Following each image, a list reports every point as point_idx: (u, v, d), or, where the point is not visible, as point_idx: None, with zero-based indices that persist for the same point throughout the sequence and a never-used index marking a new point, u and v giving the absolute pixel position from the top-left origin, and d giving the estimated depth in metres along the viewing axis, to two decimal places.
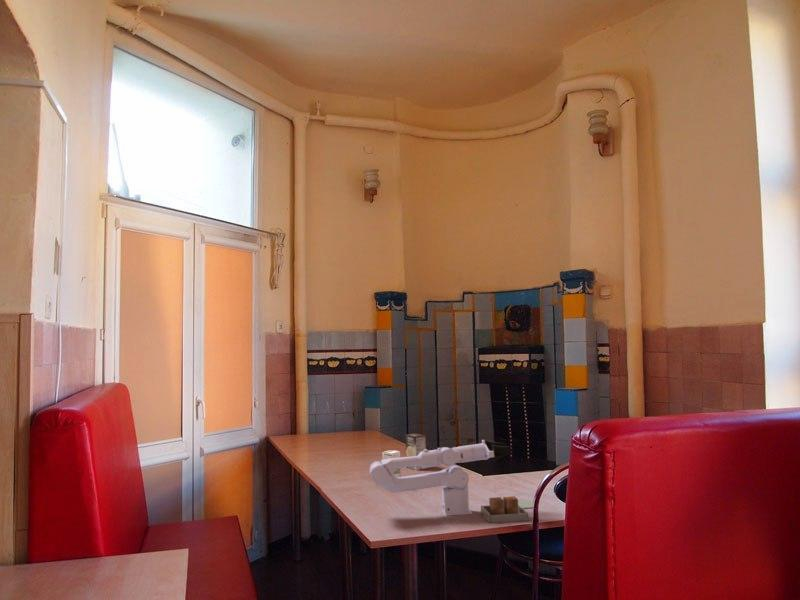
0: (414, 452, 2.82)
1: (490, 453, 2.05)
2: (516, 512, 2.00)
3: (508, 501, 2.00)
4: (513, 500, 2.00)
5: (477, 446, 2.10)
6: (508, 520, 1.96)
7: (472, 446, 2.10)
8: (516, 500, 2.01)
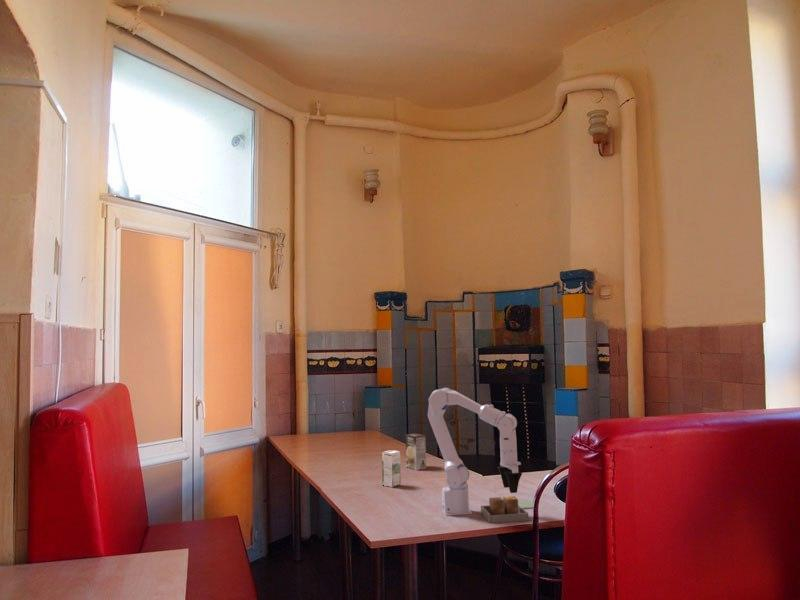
0: (414, 452, 2.82)
1: (516, 469, 1.96)
2: (516, 512, 2.00)
3: (508, 501, 2.00)
4: (513, 500, 2.00)
5: (516, 456, 2.02)
6: (508, 520, 1.96)
7: (516, 451, 2.03)
8: (516, 500, 2.01)
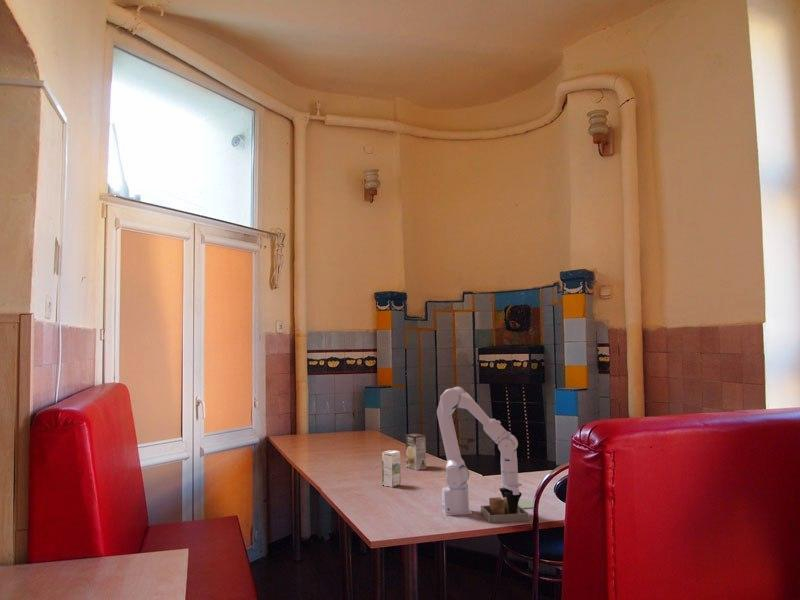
0: (414, 452, 2.82)
1: (517, 491, 1.96)
2: (516, 512, 2.00)
3: None
4: None
5: (517, 477, 2.01)
6: (508, 520, 1.96)
7: (517, 472, 2.02)
8: None
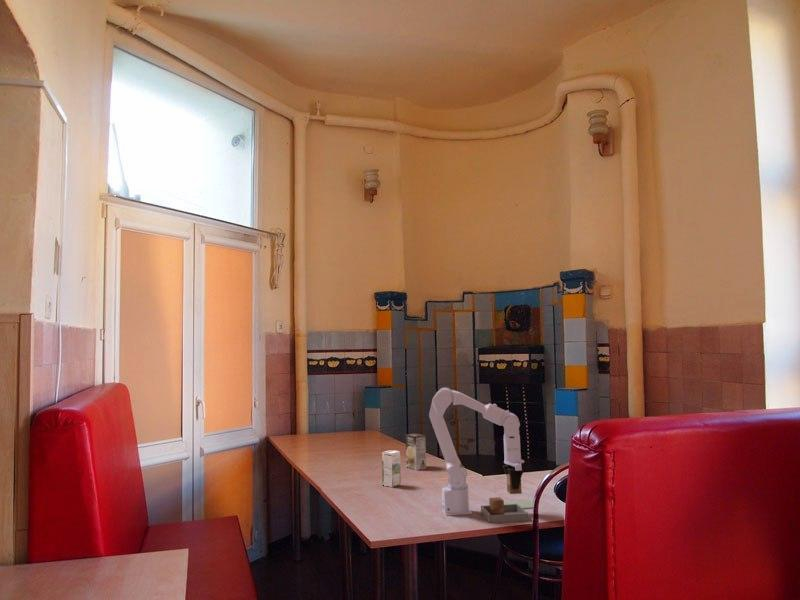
0: (414, 452, 2.82)
1: (519, 466, 2.00)
2: (519, 488, 2.05)
3: None
4: None
5: (520, 454, 2.06)
6: (508, 520, 1.96)
7: None
8: None
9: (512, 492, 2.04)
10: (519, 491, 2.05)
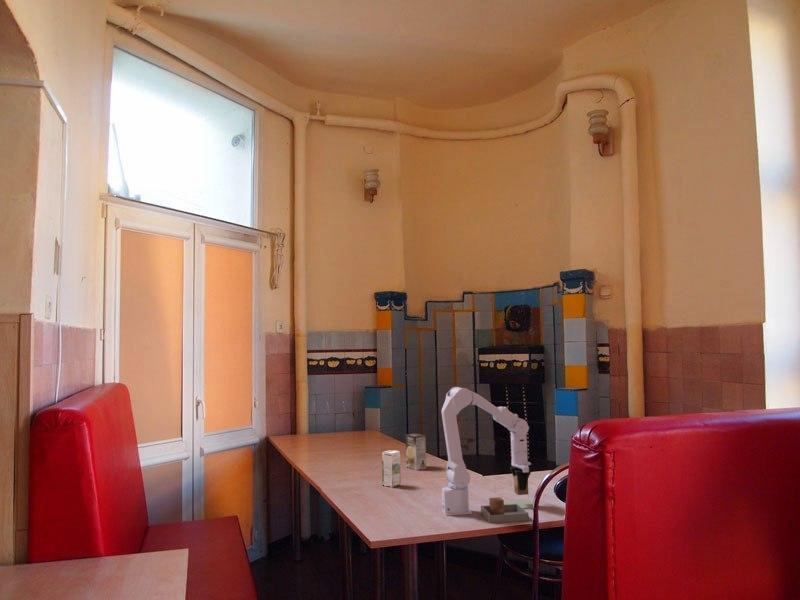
0: (414, 452, 2.82)
1: (527, 468, 2.09)
2: (526, 489, 2.13)
3: None
4: None
5: (526, 457, 2.15)
6: (508, 520, 1.96)
7: (526, 451, 2.15)
8: None
9: (519, 493, 2.13)
10: (526, 492, 2.13)
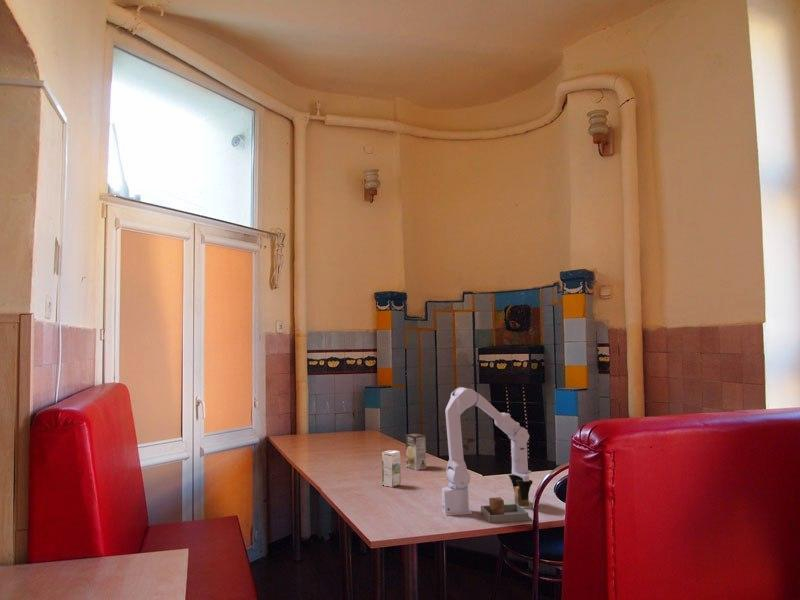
0: (414, 452, 2.82)
1: (527, 477, 2.08)
2: (526, 500, 2.13)
3: (519, 490, 2.13)
4: None
5: (527, 465, 2.14)
6: (508, 520, 1.96)
7: (527, 460, 2.15)
8: None
9: (520, 504, 2.13)
10: (526, 503, 2.13)
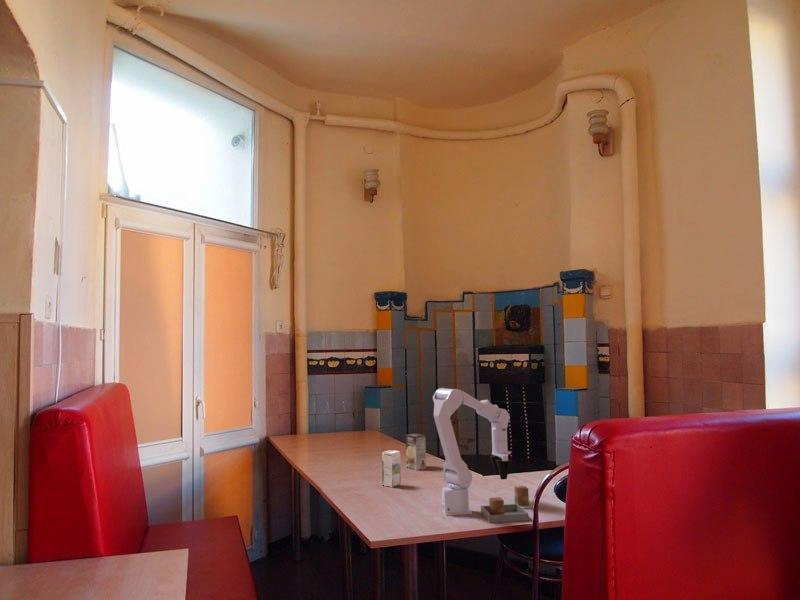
0: (414, 452, 2.82)
1: (506, 457, 2.15)
2: (526, 500, 2.13)
3: (519, 490, 2.13)
4: (524, 489, 2.13)
5: (506, 446, 2.20)
6: (508, 520, 1.96)
7: None
8: (526, 489, 2.13)
9: (520, 504, 2.13)
10: (526, 503, 2.13)
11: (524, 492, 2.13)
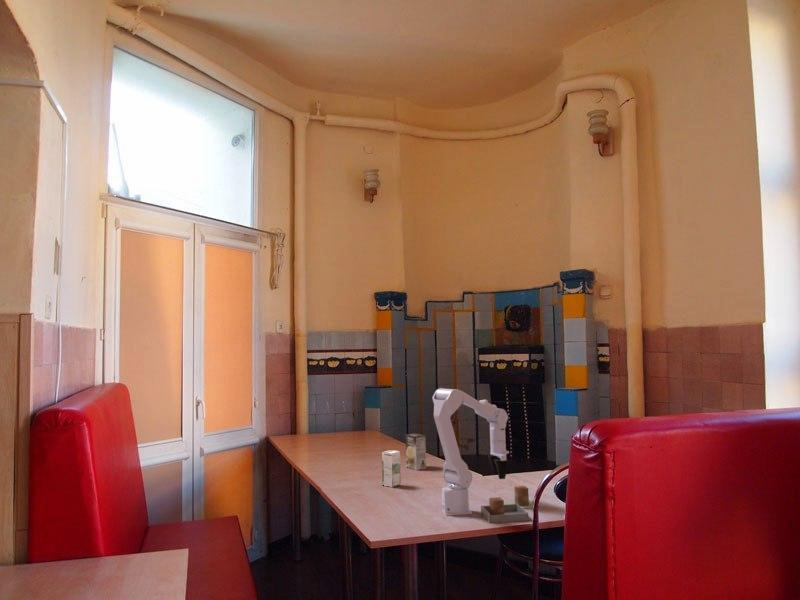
0: (414, 452, 2.82)
1: (504, 457, 2.15)
2: (526, 500, 2.13)
3: (519, 490, 2.13)
4: (524, 489, 2.13)
5: (505, 445, 2.21)
6: (508, 520, 1.96)
7: (505, 440, 2.22)
8: (526, 489, 2.13)
9: (520, 504, 2.13)
10: (526, 503, 2.13)
11: (524, 492, 2.13)
